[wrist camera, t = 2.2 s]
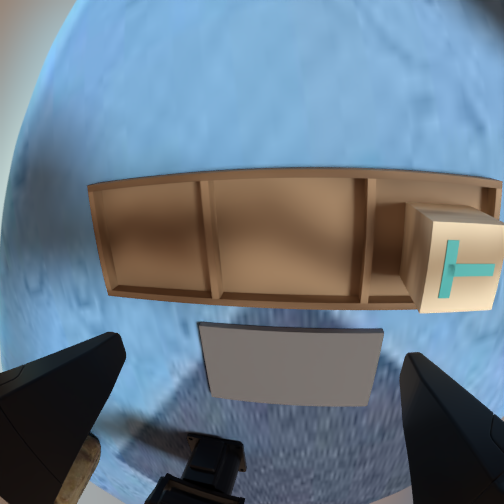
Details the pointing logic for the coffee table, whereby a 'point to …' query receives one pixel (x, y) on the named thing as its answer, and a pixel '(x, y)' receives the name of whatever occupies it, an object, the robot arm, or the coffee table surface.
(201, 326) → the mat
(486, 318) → the coffee table surface
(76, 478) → the sculpture
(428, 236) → the letter block
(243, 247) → the bay tray
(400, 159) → the coffee table surface
